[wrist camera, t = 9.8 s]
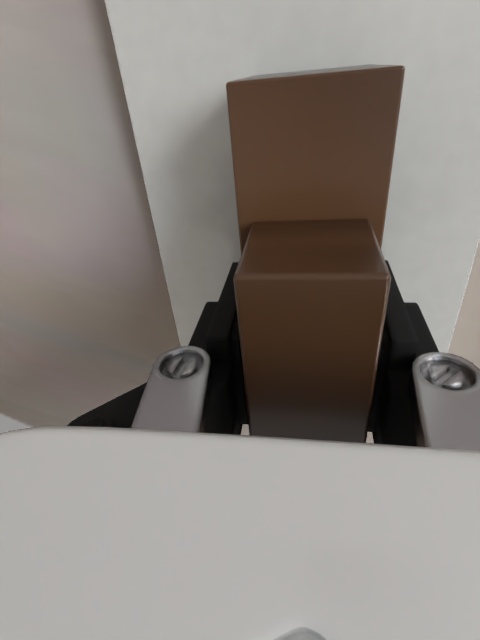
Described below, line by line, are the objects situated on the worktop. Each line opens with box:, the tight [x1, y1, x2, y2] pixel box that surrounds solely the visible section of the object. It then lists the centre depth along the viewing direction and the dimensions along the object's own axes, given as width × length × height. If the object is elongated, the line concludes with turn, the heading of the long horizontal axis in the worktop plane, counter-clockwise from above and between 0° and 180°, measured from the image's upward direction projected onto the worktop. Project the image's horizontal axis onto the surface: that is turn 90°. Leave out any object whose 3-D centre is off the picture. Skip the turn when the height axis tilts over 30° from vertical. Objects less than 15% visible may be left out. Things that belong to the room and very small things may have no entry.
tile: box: [104, 0, 480, 353], centre depth 12 cm, size 14×10×1 cm
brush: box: [226, 64, 405, 443], centre depth 10 cm, size 12×3×6 cm, turn 5°
